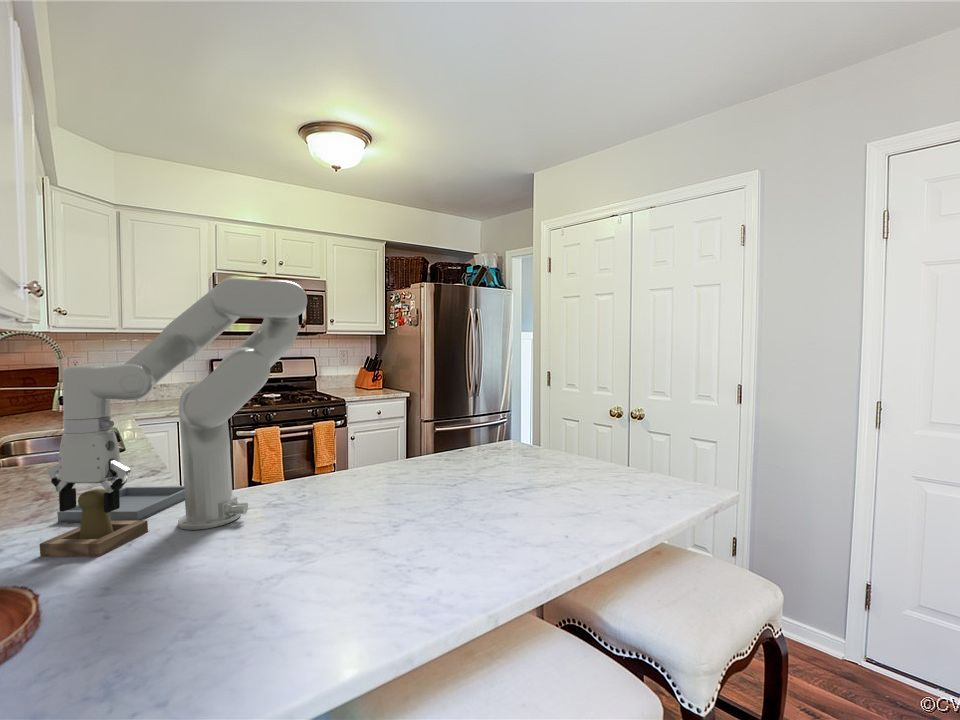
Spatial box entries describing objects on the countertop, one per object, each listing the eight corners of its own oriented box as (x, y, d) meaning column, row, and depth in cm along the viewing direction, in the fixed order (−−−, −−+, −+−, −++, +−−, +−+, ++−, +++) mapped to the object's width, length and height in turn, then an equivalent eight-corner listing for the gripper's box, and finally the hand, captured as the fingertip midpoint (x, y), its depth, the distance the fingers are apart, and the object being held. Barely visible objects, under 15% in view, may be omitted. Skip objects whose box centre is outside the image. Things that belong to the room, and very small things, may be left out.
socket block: (148, 531, 108) (147, 520, 108) (99, 556, 96) (98, 543, 96) (95, 531, 109) (94, 520, 109) (40, 556, 97) (39, 543, 97)
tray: (195, 495, 134) (194, 486, 134) (137, 522, 115) (137, 511, 114) (126, 495, 136) (125, 486, 136) (58, 522, 116) (57, 511, 116)
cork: (95, 550, 99) (91, 495, 99) (70, 548, 100) (66, 494, 100) (122, 538, 105) (119, 486, 104) (98, 537, 106) (95, 485, 106)
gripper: (141, 423, 104) (143, 505, 105) (65, 423, 106) (67, 503, 106) (112, 429, 97) (114, 517, 97) (30, 429, 99) (33, 515, 99)
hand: (89, 510), depth 102 cm, fingers open, 9 cm apart
